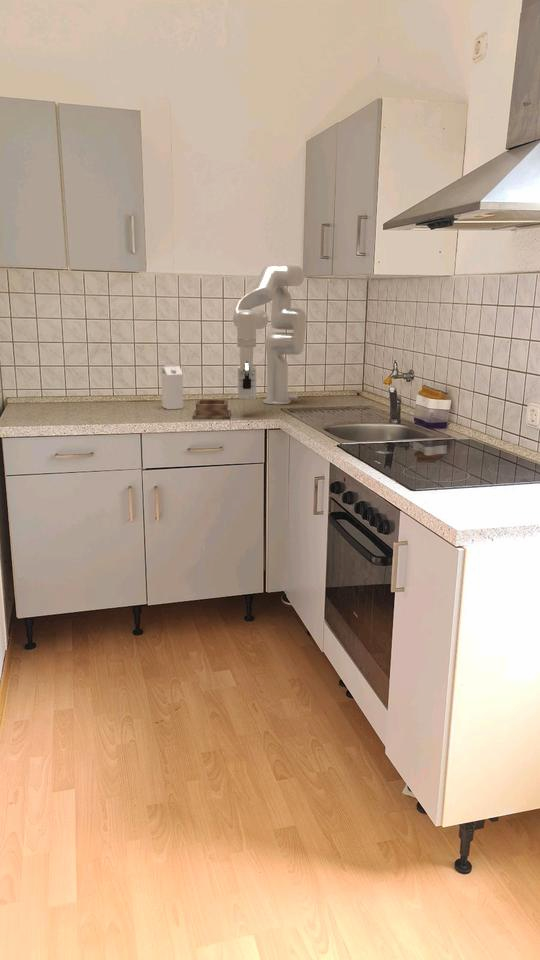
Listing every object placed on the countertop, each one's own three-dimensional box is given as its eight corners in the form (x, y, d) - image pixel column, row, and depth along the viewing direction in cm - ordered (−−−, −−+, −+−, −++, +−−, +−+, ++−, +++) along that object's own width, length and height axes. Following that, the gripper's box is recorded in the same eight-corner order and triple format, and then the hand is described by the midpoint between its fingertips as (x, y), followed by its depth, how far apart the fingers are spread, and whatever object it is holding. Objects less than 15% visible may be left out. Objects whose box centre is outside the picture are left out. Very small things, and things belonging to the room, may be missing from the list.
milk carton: (162, 407, 307) (160, 363, 302) (177, 406, 310) (176, 362, 305) (167, 409, 301) (166, 365, 296) (183, 408, 304) (182, 364, 299)
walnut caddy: (230, 412, 297) (230, 399, 295) (230, 419, 282) (229, 405, 281) (195, 412, 296) (194, 399, 295) (192, 419, 282) (192, 405, 280)
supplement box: (238, 395, 292) (238, 365, 288) (256, 395, 292) (256, 365, 288) (237, 398, 285) (237, 367, 281) (255, 399, 285) (255, 367, 281)
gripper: (237, 340, 290) (238, 383, 295) (236, 345, 273) (237, 390, 279) (255, 340, 290) (255, 383, 295) (256, 345, 274) (256, 390, 279)
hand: (246, 386), depth 287 cm, fingers closed on supplement box, 7 cm apart
